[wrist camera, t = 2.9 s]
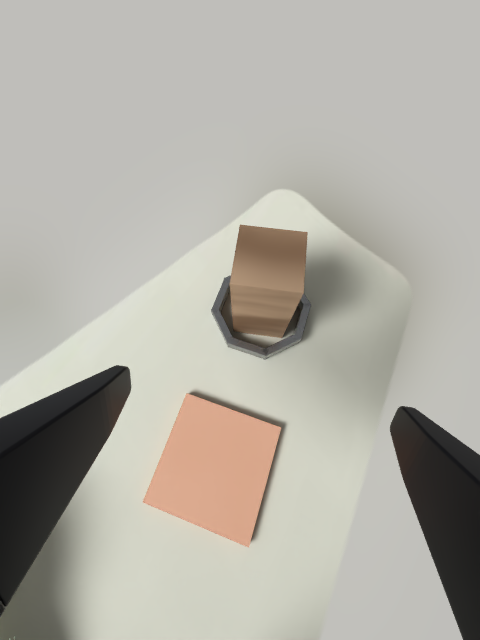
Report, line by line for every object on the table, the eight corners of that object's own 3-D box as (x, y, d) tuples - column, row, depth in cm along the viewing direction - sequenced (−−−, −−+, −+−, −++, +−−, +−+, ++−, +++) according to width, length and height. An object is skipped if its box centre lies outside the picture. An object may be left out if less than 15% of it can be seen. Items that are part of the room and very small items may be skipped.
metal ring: (291, 368, 23) (294, 365, 22) (202, 338, 24) (200, 334, 23) (314, 287, 26) (317, 281, 25) (233, 263, 27) (233, 256, 26)
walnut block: (281, 337, 24) (303, 292, 16) (233, 331, 24) (229, 283, 16) (285, 294, 26) (307, 232, 17) (240, 288, 26) (240, 224, 18)
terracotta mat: (248, 543, 19) (248, 547, 18) (145, 499, 20) (142, 502, 19) (280, 427, 22) (281, 427, 21) (188, 393, 23) (186, 393, 22)
